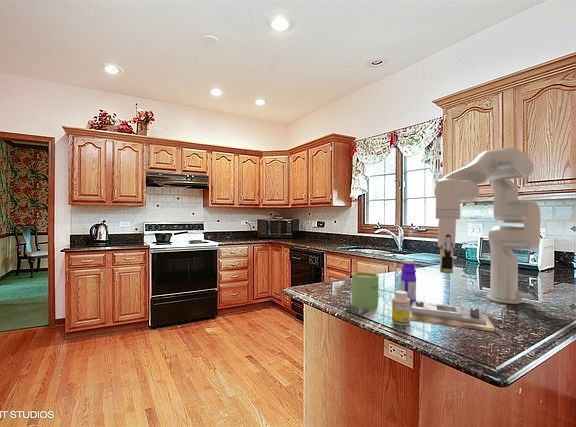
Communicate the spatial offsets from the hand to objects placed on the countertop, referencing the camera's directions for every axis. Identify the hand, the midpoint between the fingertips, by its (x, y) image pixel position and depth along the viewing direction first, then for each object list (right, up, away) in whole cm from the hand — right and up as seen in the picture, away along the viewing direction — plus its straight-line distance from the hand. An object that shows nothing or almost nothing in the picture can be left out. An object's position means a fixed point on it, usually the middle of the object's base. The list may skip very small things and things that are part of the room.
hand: (446, 267), depth 106 cm
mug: (-24, -18, +15) cm, 33 cm away
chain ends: (0, -18, 0) cm, 18 cm away
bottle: (-6, -18, +19) cm, 27 cm away
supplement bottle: (-18, -18, -5) cm, 26 cm away
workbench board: (0, -18, 0) cm, 18 cm away
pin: (0, -2, 0) cm, 2 cm away
